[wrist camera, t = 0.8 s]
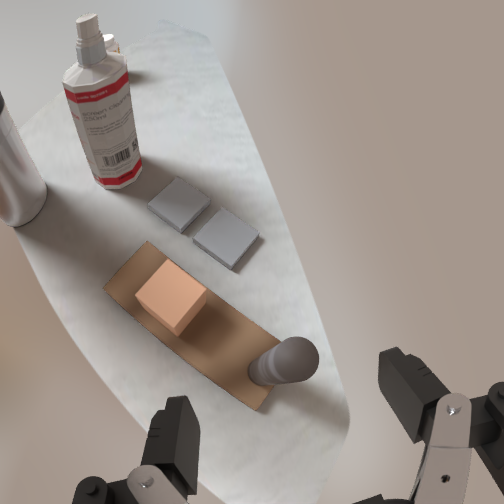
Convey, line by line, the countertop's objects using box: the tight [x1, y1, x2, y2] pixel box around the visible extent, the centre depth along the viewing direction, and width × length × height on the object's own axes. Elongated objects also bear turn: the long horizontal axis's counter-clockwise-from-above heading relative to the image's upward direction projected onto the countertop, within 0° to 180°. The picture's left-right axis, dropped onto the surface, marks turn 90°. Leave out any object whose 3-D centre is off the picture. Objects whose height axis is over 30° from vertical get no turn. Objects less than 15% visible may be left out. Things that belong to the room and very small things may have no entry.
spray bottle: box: [62, 14, 143, 189], centre depth 31 cm, size 8×8×25 cm
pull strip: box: [103, 241, 319, 411], centre depth 27 cm, size 22×8×14 cm, turn 55°
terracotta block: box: [135, 259, 207, 337], centre depth 31 cm, size 5×5×5 cm
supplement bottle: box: [103, 34, 120, 54], centre depth 48 cm, size 6×6×10 cm
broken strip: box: [148, 177, 260, 270], centre depth 39 cm, size 14×6×1 cm, turn 55°
